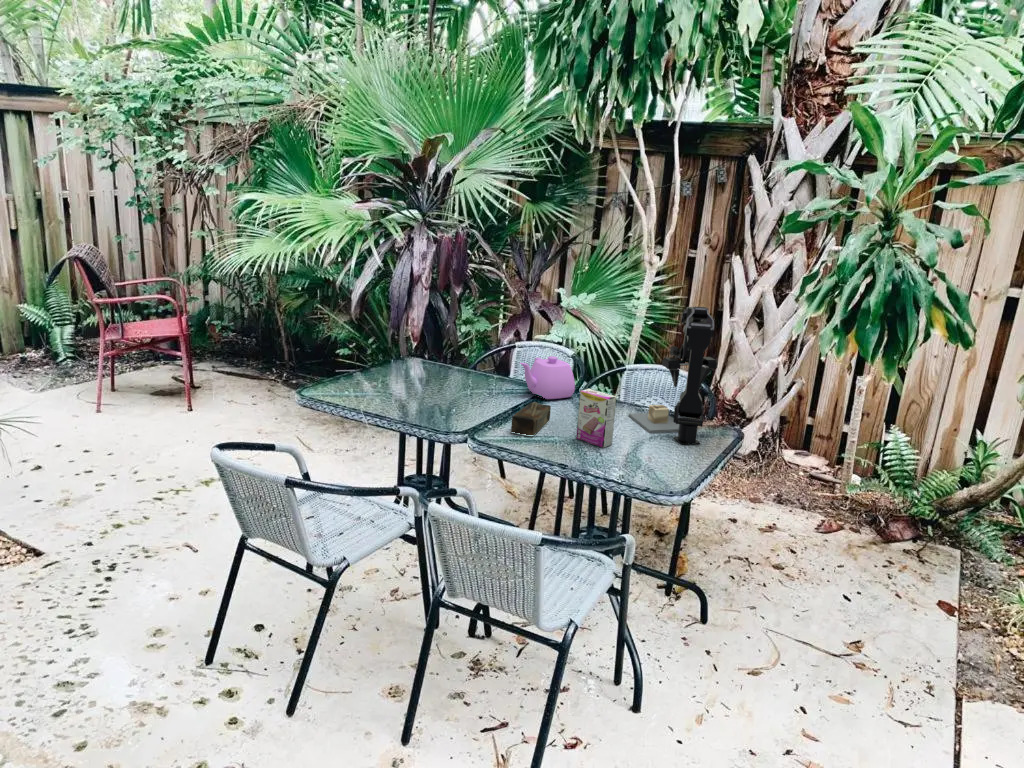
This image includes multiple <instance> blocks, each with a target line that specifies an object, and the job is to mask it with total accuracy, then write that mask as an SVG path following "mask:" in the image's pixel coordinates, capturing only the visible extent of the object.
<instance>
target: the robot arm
mask: <svg viewBox="0 0 1024 768" xmlns="http://www.w3.org/2000/svg"><path fill="white" fill-rule="evenodd" d="M680 323H681V324H682V325H684V326H683V335H684V338H683V344H681V345H680V348H678V346H671V347H670V350H669V351H670V353H669V354H670V356H669V357H663V359H662V360H661V366H662V367H665V368H666V369H667V370H668V371H669V373H670V375H671V380H672V384H673V387H674V388H676V387H677V386H678V382H679V377H680V371H681V369H679V368H680V367H681V366H688V369H687V376H686V383H685V385H686V387H685V389H684V391H682V392H681V393H680V395H679V401H677V402H676V404H675V406H674V410H673V419H674V421H673V422H675V423H676V424H679V431H678V432H677V436H673V439H674V440H675V441H676V442H677V443H679V444H680V445H700V444H701V442H700V441H699V440H698V439H697V434H698V427H702V428H703V425H704V410H705V409H704V406H705V405H704V404H703V400H702V396H701V393H700V392H699V391H700V387H702V385H703V383H704V381H705V380H706V378H708V376H709V374H710V373H711V372H713V371H714V369H717V368H718V361H717V359H715V358H713V357H711V356H704V354H705V351H706V350H707V349H708V348H709V347H710V346H711V341H712V339H714V334H715V319H714V318H713V317H712V316H711V315H710V313H709V308H708V307H705V306H687V307H686V309H684V310H683V312H682V313H681V319H680ZM671 356H672V357H671ZM673 356H674V357H673Z"/></svg>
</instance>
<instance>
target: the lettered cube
mask: <svg viewBox="0 0 1024 768" xmlns="http://www.w3.org/2000/svg"><path fill="white" fill-rule="evenodd" d="M669 410H670V409H669V408H667V406H664V405H663V404H650V405H649V406H648V412H647V413H648V419H649V420H650V421H651V422H653V423H654V424H656V423H667V421H668V415H669Z"/></svg>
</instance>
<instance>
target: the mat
mask: <svg viewBox="0 0 1024 768" xmlns="http://www.w3.org/2000/svg"><path fill="white" fill-rule="evenodd" d="M648 413H649V412H638V413H637V412H636V413H628V418H630V419H631V420H632V421H633V422H635V423H636V424H637V425H639V426H640V427H641V428H642V429H644V430H645V431H646V432H648V433H649V434H663V433H678V431H679V424H676V423H675V422H673V421H674V417H672V416H671V415H669V414H668V421H667V423H656V424H654V423H653V422H651V421H650V420H649V419H648Z"/></svg>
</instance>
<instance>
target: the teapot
mask: <svg viewBox="0 0 1024 768" xmlns="http://www.w3.org/2000/svg"><path fill="white" fill-rule="evenodd" d="M519 365H521V366H522V367H523V369H524V370H523V371H524V380H525V382H526V384H527V385H526V386H527V387H528V390H529V392H530V391H531V392H532V393H531V392H530V393H531V394H533V393H534V394H538V395H541V396H542V397H543V399H544V398H545V399H544V400H556V399H565V398H570V397H572V396H573V394H574V392H575V390H576V382H575V377H574V373H573V370H572V367H571V365H570V364H569V363H568V362H566V361H564V360H561V359H558V356H556V355H555V356H553V355H551V356H547V358H541V357H536V358H534V363H533V364H532V365H531V367H530V365H529V364H528V363H526V362H519ZM534 394H533V395H534ZM542 397H541V398H542Z"/></svg>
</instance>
